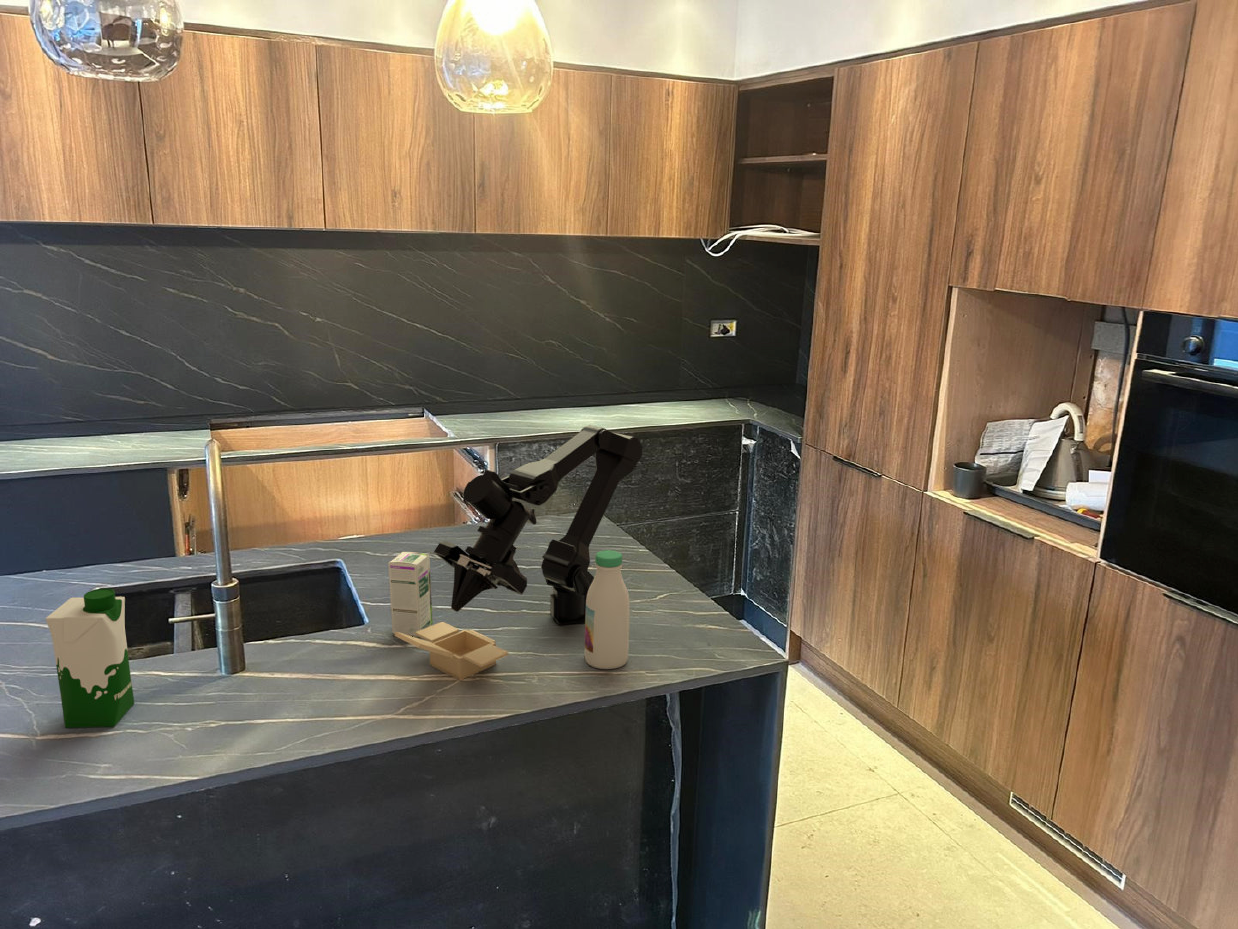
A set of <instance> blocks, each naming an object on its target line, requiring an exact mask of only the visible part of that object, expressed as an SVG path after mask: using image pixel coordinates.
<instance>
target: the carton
mask: <svg viewBox="0 0 1238 929" xmlns="http://www.w3.org/2000/svg"><path fill="white" fill-rule="evenodd" d="M415 635H417V636H419V637H418V638H420V639H422V640H425V641H428V642H431V643H433V644H435V645H437V646H439V647H441V648H443V649H445V650H447V651H449V652H451V653H453V654H454V656H453V658H451V657H448V656H444V655H441V654H438V653H434V652H431V651H429V665H430V666H431V665H432V666H431V667H433V668H435V669H437V670H439V671H440V672H443V673H445V674H447V675H448V676H450V677H452V676H453V678H454V677H455V679H456V678H457V679H456V680H459V681H462V679H463V680H464V678H465V679H466V677H467V678H469V677H471V676H473V675H475V673H476V674H478V673H480V672H482V671H484V670H486V669H489V668H490V667H493V666H495V665H497V661H498V660H500V659H503V658H505V657H507V656H509V651H507V650H505V649H502V648H501V647H498V646H497V643H496V640H495V639H493V638H491V637H488V636H486V635H484V634H481V633H480V632H477V631H475V630H473V629H469V630H468V629H466V628H464V629H462V630H460V629H459V628H457V627H455V626H453V625H450V624H448V623H446V622H444V621H440V622H438V623H435V624H432V625H431V626H430V627H427V628H425V629H422V630H420V631H417V632H415ZM479 671H480V672H479ZM468 676H469V677H468Z"/></svg>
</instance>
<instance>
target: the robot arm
mask: <svg viewBox="0 0 1238 929" xmlns="http://www.w3.org/2000/svg"><path fill="white" fill-rule="evenodd" d="M642 455H643V446H642V444H641V441H640V440H639V438H637V437H636V436H632V435H627V434H622V433H618V432H612V431H610V430H608V429H606V428H603V427H601V426H600V427H599V426H595V425H586V426H583V427H582V428H581V429H580V432H578V433H577V434H576V435H575V436H573V437H571V438H570V439H569V440H568V441H566V442H565V443H563V445H561V446H560V447H558V448H557V449H556V450H554V451H552V452H551V453H550V454H549V455H547V456H546V457H545V458H543V459H540V460H538V461H533V462H529V463H526V464H523V465H521V466H519V467H517V468H515V469H513V470H512V471H511V473H509V475H508V476H507V475H506V476H505V477H503V478H500V476H499V474H498V473H497V472H496V471H494V470H490V469H485V471H484V473H483V474H480V475H477V476H475V477H474V478H472V479H471V480H470V481H468V482H467V484H466V485H465V487H464V489H463V499H464V500H465V501H466V502H467V503H468V504H469V505H470V506H471V507H472V508H473V509H475V511H476V512H478V513H479V514H480V515H481V516H482V517H483V518H485V519H486V520H488V523H487V524H486V526H479V527H478V529H477V532H478V533H479V534H480V535H479V537H478V539H477V540H476V541H475V544H474V545H473V547H472V546H469V545H468V546H467V547H466V548H465V550H464V549H462V548H461V547H460V546H458V545H457V544H454V543H451V542H449V541H446V540H444V541H441V542H438V544H437V546H436V548H435V549H434V551H433V553H434V554H435V555H436V556H437V557H438V558H440V559H442V560H443V561H444V562H445V563H446V564H447V565H448V566H450V567H452V568H453V569H454V572H453V587H452V588H453V590H452V597H451V606H450V608H451V610H453V611H454V612H456V613H457V612H459V611H461V609H462V608H464V607H465V606H466V605H468V604H469V602H471V601H472V600H473V599H475V598H476V597H477V596H478V595H480V594H481V593H482V592H484V591H487V590H491V589H493V590H497V589H498V588H499V587H503V588H505V589H507V590H509V591H511V592H514V593H517V594H519V595H523V594H524V592H525V590H526V588H527V587H528V578H527V577H526V576H525V575H524V574H522V573H521V571H520V568H519V566H518V563H517V562H516V561H515V560H514V556H515V554H516V553H517V551H516V550H517V547H516V546H515V545H514V544H515V543H516V541H517V539H518V538H519V536H520V534H521V532H522V530H523V529H524V527H525V526H526V524H527V523H528V524H531V525H533V526H534V525H536V524H537V518H536V513H535V508H531V507H529V506H525V505H524V504H523V503H528V504H531V505H534V506H537V507H539V506H542V505H544V504H545V503H546V502H548V500H550V498H551V497H552V496H553V495H554V494H555V493H556V492H557V490H558V487H559V483H560V481H561V480H562V479H564V478H565V477H566V476H568V475H569V474H570V473H571V472H573V471H574V470H576V469H577V468H578V467H579V466H580V465H581V464H583V463H585V462H586V461H587V460H588V459H590V458H591V457H592V456H594V459H595V467H596V470H595V473H594V475H593V477H592V480H591V481H590V484H589V485H588V488H587V490H586V492H585V493H584V496H583V498H582V500H581V502H580V504H579V506H578V509H577V510H576V511H575V512H576V513H575V515H574V517H573V519H572V521H571V524H570V526H569V528H568V530H567V531H566V534H565V535H564V536H563V537H562V538H560V539H558V540H557V539H554V538H553V539H551V540H550V542H549V543H548V547H547V549H546V551H545V553H544V554H543V555H542V562H541V565H540V568H541V570H542V572H541V573H542V575H543V577H544V579H545V583H546V585H547V586H550V587H552V593H551V594H550V597H549V599H550V604H549V605H550V607H549V610H550V611H549V614H550V615H551V617H552V619H554V620H555V622H556V623H557V625H559V626H563V625H570V624H579V623H585V612H586V598H587V593H588V590H589V588H590V585H591V583H592V582H593V579H594V577H595V576H593V574H591V573H590V571H589V567H590V563H591V558H590V544H591V543H592V541H593V538H594V537H595V534H596V532H597V530H598V527H599V525H600V523H601V521H602V519H603V517H604V515H605V513H606V510H607V509H608V506H609V504H610V502H611V500H612V497H613V496H614V493H615V491H616V489H617V488H618V485H619V483H620V481H621V480H623V479H624V478H626V477H627V476H628V475H630V474H631V473H632V472H634V470H635V468H636V466H637V465H638V463H639V461H640V460H641V457H642ZM513 499H515V500H513ZM520 501H522V502H523V503H522V502H520Z"/></svg>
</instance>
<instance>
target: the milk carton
mask: <svg viewBox="0 0 1238 929" xmlns="http://www.w3.org/2000/svg"><path fill="white" fill-rule="evenodd" d="M125 603H126V598H125V596H116V592H115V590H114V589H111V588H98V589H93V590H89V591H87V592H86V593H85V594H84V595H83V597H70V598H69V599H67V600H66V601H65V602H64V603H63V604H61V605H60V606H59V607H58V608H56V609H55V610H54V611H53V612H51V613H50V614H49V615H48V616H46V618H45V621H46V624H47V627H48V629H49V632H50V636H51V639H52V645H53V646H52V647H53V652H54V659H55V665H56V671H57V672H56V673H57V679H58V687H59V692H60V702H61V708H62V714H63V715H62V716H63V722H64V728H65V729H67V728H69V729H71V728H72V729H73V728H115V727H116V725H118V723H119V722H120V721H121V719H122V718H124V717H125V715H126V714H127V712H128V711H130V709H131V708H132V706H133V705H134V704H135V698H134V690H133V685H132V678H131V677H132V674H131V669H130V659H129V651H128V643H127V636H126V628H125V624H126V622H125V616H126V615H125V614H126V613H125V610H126V608H125Z"/></svg>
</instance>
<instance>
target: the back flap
mask: <svg viewBox="0 0 1238 929" xmlns="http://www.w3.org/2000/svg"><path fill="white" fill-rule="evenodd" d="M393 635H394V636H395V637H396V638H398V639H399V640H402V641H404V642H406V643H408V644H410V645H412V646H414V647H415V648H418V649H421V650H425V651H427V652H430V651H431V652H434V653H438V654H441V655H444V656H448V657H451V658H453V656H454V654H453V653H451V652H449V651H447V650H445V649H443V648H441V647H439V646H437V645H435V644H433V643H431V642H429V641H427V640H425V639H423V638H419V637H412V636H409V635H405V634H402V633H399V632H396V633H395V634H393Z"/></svg>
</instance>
